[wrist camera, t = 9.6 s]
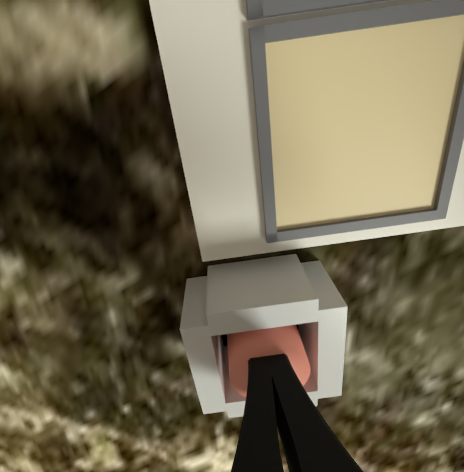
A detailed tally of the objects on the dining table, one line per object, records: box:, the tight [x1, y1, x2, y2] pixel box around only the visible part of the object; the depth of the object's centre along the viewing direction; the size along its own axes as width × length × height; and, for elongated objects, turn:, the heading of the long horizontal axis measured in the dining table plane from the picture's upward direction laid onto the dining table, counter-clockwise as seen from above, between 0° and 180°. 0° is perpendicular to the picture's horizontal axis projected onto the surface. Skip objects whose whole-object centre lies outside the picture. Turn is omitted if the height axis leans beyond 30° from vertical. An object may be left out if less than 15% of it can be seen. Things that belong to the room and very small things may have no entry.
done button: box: [227, 325, 311, 397], centre depth 12 cm, size 3×3×3 cm
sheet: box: [149, 0, 464, 262], centre depth 8 cm, size 12×15×1 cm
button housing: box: [180, 254, 348, 418], centre depth 12 cm, size 6×6×3 cm
